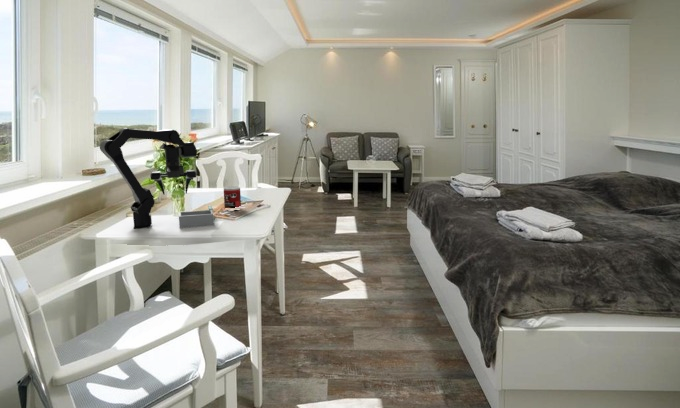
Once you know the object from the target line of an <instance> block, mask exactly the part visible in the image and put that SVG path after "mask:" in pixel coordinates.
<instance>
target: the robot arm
mask: <svg viewBox="0 0 680 408" xmlns="http://www.w3.org/2000/svg"><path fill="white" fill-rule="evenodd" d="M129 139H140V140H141V139H142V140H156V141H158V142H162V144H161V145H160V146H159V149H161V150H164V158H165V172H161V171H152V172H150V180H152V181H153V180H154V181H153V182H156V183H157V185H158V186H159V188H160V190H161V193H162V195H163V196H165V193H166V192H165V188H164V184H163V179H162V178H168V179H171V178H173V179H175V178H176V179H178V178H180V177H185V190H184V191H185V194H188V190H189V185H190V183H191V180H194V178H197V171H196V170H195V169H186V171H184V165H181V164H180V163H181V162H180V157H181V158H182V159H185V158H196V157H197V155H198V150H197V147H196V145H195V142H194V141H189V142H184V140H183V139H182V138H181V136H180V134H179V132H178V131H177V129H176V130H175V129H159V130H147V129H146V130H145V129H133V128H132V129H130V128H127V127H124V128H123V127H122V128H121V129H120V130H118V131H117V132H116V133H115V134H113V135H111V136H110V137H109V138H108V139H104V140H102V141H101V142H100V144H99V150H100V151H101V153H102V154H104V155H105V157H106V158H107V159H108V160H109V161H111V162H112V163H113V164H114V166H115V168H116V169H117V171H118V172H119V174H120V175H121V177H122V178H123V180H124V181H125V183H126V184H127V186H128V187H129V189H130V191H131V192H132V196H133V200H134V202H133V203H132V204H131V206H130V207H129V208H130V210H131V212H132V217H133V229H141V228H144V229H145V228H151V226H152V224H153V223H152V222H153V221H152V214H151V211H152V209H153V207H154V206H155V202H156V201H155V199H154V198H155V196H154V195H153V193H152V192H151V190H150V189H149V188H146V187H142V185H141V183H140V182H139V180H138V179H137V176H136V175H135V174H134V172H133V171H132V170H131V167H130V166H129V165H128V163H127V161H126V160H125V158H124V155H123V151H122V147H123V146H124V145H125V143H126V142H127V141H128V140H129ZM167 143H168V144H167ZM175 145H176V146H175Z"/></svg>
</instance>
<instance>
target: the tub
mask: <svg viewBox="0 0 680 408" xmlns="http://www.w3.org/2000/svg"><path fill="white" fill-rule="evenodd" d="M213 214H214V210H213V211H212V210H208V209H204V210H203V209H202V210H201V209H200V210H190V211H189V210H188V211H187V210H186V211H178V223H179V224H178V225H179V229H186V228H188V229H189V228H197V227H211V226H215V220H214V217H215V214H214V215H213Z"/></svg>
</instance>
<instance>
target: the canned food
mask: <svg viewBox="0 0 680 408" xmlns="http://www.w3.org/2000/svg"><path fill="white" fill-rule="evenodd" d="M241 196H242V195H241V187H239V186H226V187H223V204H224V206H223V207H224V209H225V208H235V207H239V206H241V207H242V201H241V200H242V199H241Z"/></svg>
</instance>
